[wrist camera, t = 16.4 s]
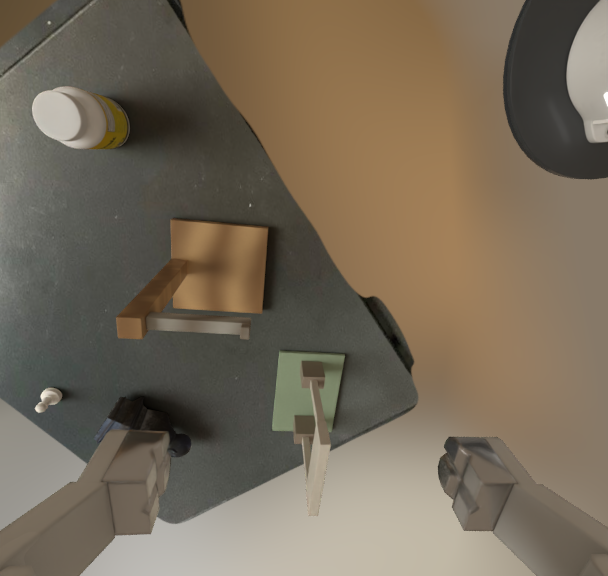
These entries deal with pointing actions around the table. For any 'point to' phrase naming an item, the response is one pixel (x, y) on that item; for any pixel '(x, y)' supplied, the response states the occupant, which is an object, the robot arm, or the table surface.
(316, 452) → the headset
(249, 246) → the stand
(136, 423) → the dark knob-ended part
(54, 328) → the table surface
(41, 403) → the chess pawn
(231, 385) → the table surface
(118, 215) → the table surface
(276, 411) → the mat
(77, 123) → the supplement bottle
